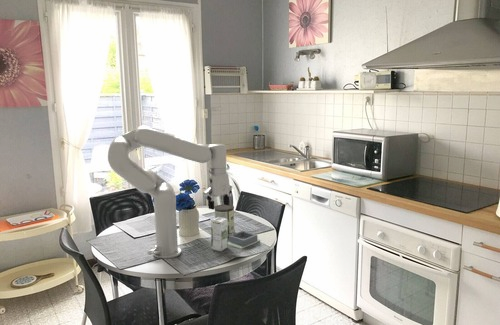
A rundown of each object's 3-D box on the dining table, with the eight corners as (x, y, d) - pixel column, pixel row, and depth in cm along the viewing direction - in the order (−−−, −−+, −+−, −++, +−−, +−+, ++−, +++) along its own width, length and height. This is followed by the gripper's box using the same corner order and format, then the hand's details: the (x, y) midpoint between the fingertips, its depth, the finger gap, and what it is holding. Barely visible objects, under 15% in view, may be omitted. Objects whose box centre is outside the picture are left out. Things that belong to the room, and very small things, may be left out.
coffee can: (216, 229, 223) (216, 204, 221) (235, 229, 222) (235, 204, 220) (213, 235, 213) (212, 209, 211) (233, 236, 212) (232, 209, 210)
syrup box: (217, 245, 200) (217, 216, 197) (228, 247, 197) (227, 218, 195) (211, 249, 195) (210, 220, 192) (221, 251, 192) (221, 221, 190)
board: (240, 249, 195) (240, 247, 195) (225, 244, 202) (225, 242, 202) (260, 240, 205) (260, 239, 205) (245, 236, 212) (245, 235, 212)
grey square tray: (243, 246, 196) (243, 240, 196) (228, 241, 203) (228, 235, 203) (257, 240, 204) (257, 235, 203) (242, 236, 210) (242, 230, 210)
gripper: (210, 174, 181) (210, 212, 184) (237, 169, 194) (237, 204, 197) (198, 172, 186) (199, 209, 189) (225, 167, 199) (226, 201, 202)
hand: (218, 206), depth 193 cm, fingers open, 9 cm apart
